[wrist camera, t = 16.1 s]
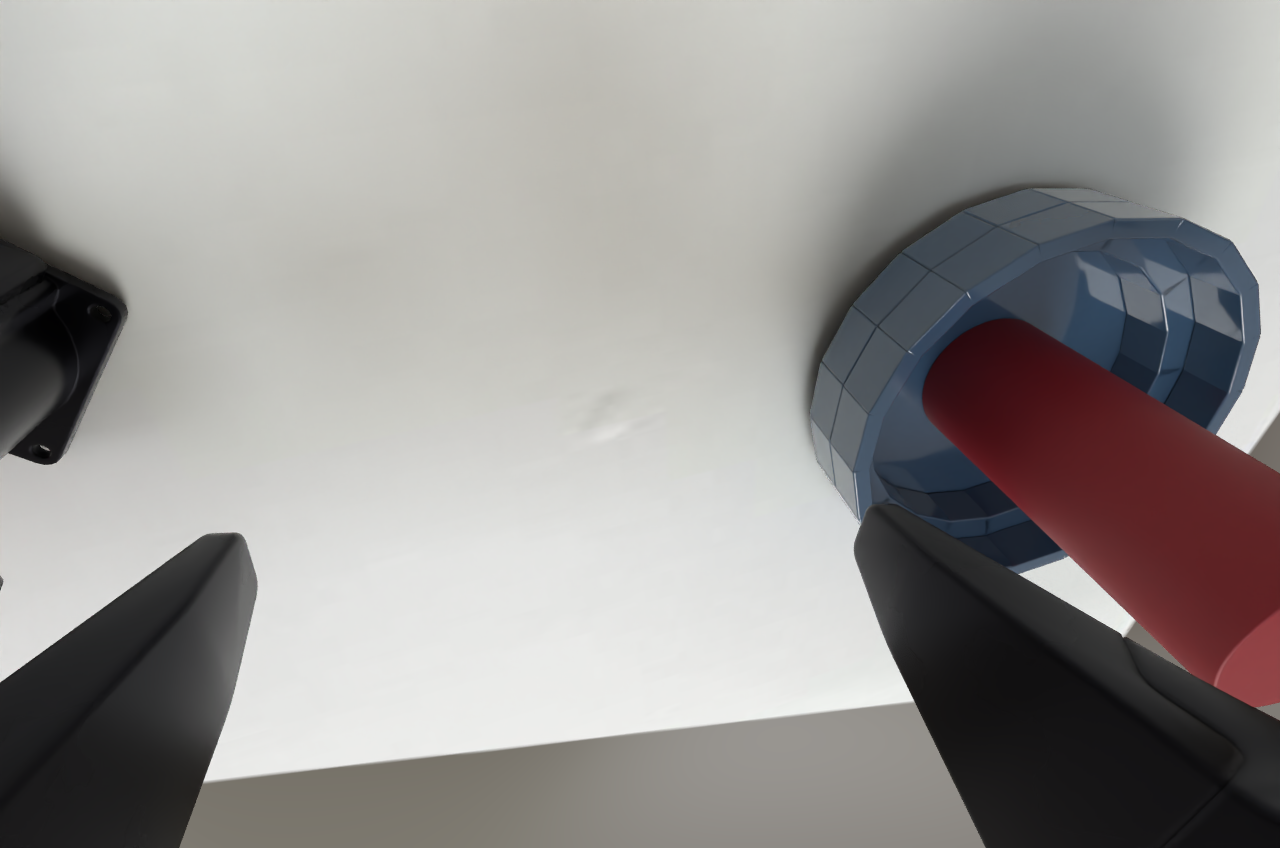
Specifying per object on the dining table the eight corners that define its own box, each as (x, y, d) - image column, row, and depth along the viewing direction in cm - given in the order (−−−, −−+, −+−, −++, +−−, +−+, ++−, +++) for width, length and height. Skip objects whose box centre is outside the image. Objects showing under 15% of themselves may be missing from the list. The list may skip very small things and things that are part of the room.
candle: (932, 451, 27) (1244, 773, 15) (911, 356, 24) (1272, 664, 13) (1048, 397, 26) (1456, 689, 15) (1039, 294, 23) (1532, 557, 12)
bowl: (938, 550, 31) (997, 623, 28) (729, 417, 25) (770, 490, 21) (1202, 323, 27) (1316, 374, 23) (1029, 87, 20) (1149, 106, 16)
